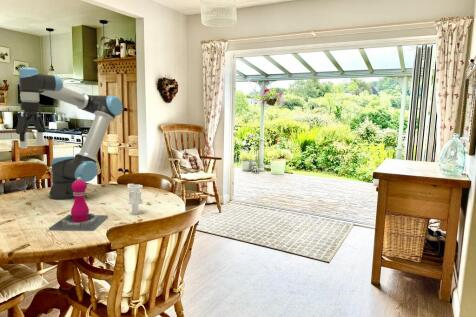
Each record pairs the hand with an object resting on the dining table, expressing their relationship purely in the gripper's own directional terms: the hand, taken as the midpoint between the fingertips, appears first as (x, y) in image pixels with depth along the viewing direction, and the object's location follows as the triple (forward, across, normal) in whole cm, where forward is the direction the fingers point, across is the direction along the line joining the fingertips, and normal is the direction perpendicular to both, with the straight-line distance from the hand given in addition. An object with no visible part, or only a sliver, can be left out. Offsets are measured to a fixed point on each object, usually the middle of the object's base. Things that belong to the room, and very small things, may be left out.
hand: (32, 147), depth 155 cm
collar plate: (+32, +16, +28) cm, 45 cm away
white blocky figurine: (+32, 0, +48) cm, 58 cm away
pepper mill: (+31, +16, +28) cm, 45 cm away
